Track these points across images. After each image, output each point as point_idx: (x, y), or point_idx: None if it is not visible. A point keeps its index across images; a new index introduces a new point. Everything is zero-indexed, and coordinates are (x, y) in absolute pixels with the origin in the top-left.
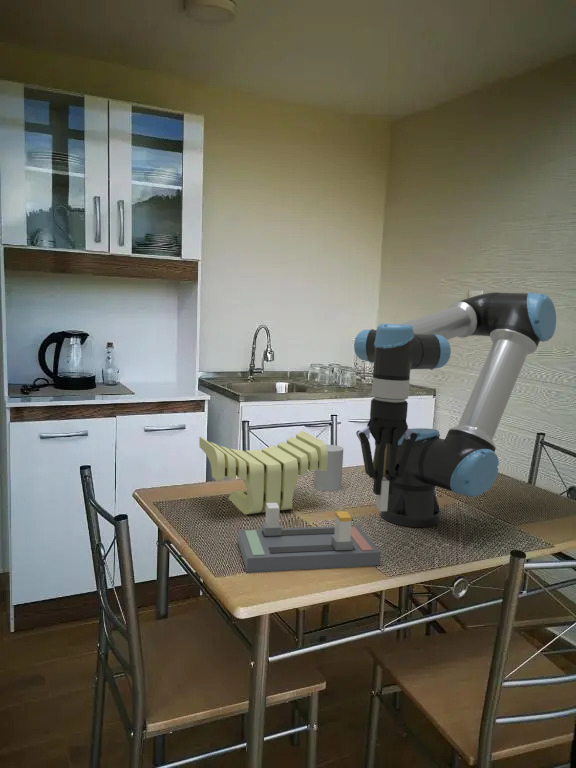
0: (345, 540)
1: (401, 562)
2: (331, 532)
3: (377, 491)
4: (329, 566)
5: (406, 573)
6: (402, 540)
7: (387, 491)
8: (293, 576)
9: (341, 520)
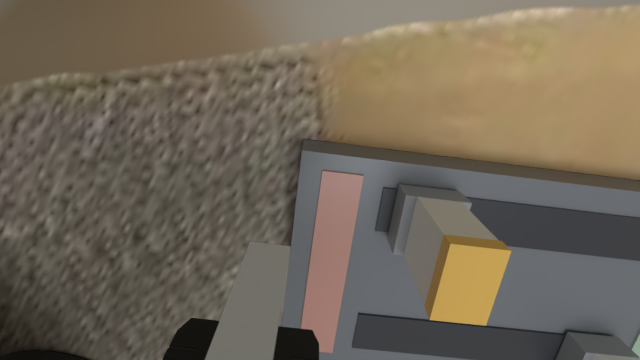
0: (437, 201)
1: (221, 145)
2: (396, 323)
3: (302, 348)
4: (470, 161)
5: (241, 65)
6: (149, 285)
7: (227, 326)
8: (600, 135)
9: (497, 243)
